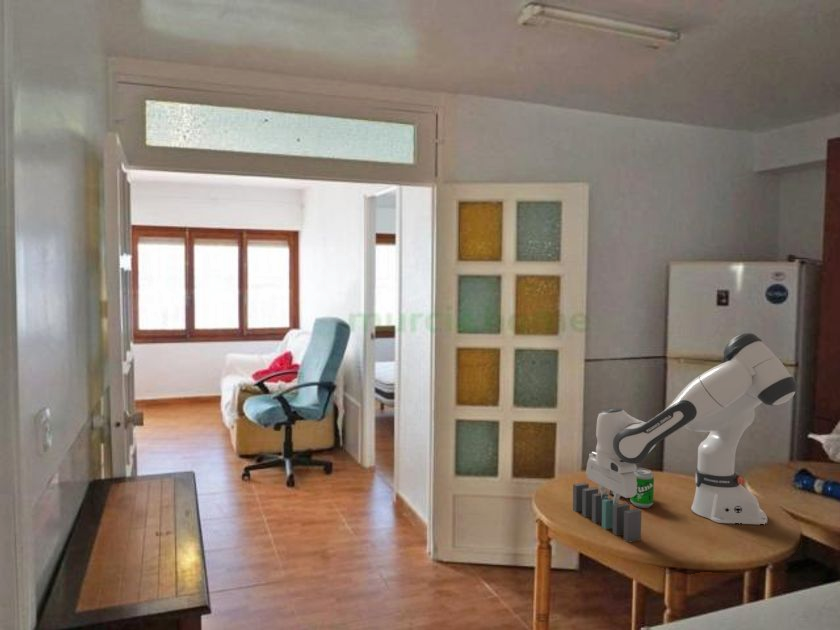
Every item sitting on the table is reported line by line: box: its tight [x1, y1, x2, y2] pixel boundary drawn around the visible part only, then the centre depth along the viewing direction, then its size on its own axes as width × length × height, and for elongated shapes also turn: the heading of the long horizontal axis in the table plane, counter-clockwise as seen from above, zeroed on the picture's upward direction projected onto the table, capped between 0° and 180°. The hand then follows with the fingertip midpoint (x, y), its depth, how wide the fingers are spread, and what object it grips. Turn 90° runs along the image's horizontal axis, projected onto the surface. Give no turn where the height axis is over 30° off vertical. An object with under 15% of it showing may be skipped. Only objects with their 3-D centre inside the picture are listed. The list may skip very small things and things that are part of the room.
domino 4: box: [601, 497, 613, 530], centre depth 191 cm, size 2×5×9 cm, turn 112°
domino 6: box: [623, 508, 642, 543], centre depth 181 cm, size 2×5×9 cm, turn 112°
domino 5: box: [612, 502, 631, 537], centre depth 186 cm, size 2×5×9 cm, turn 112°
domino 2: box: [581, 486, 599, 518], centre depth 200 cm, size 2×5×9 cm, turn 112°
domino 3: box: [591, 492, 603, 524], centre depth 195 cm, size 2×5×9 cm, turn 112°
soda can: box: [629, 467, 655, 509], centre depth 209 cm, size 8×8×12 cm
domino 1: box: [572, 482, 590, 513], centre depth 205 cm, size 2×5×9 cm, turn 112°
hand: (609, 501), depth 191 cm, fingers open, 3 cm apart
